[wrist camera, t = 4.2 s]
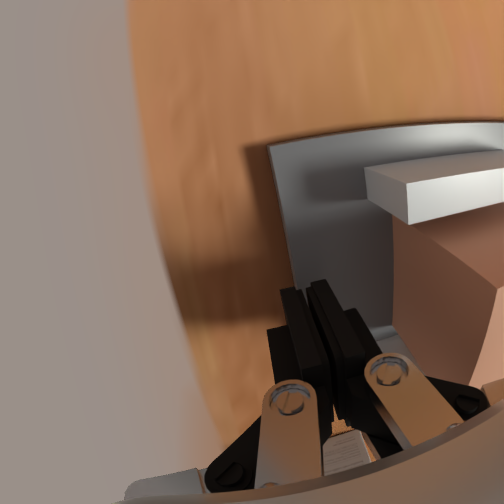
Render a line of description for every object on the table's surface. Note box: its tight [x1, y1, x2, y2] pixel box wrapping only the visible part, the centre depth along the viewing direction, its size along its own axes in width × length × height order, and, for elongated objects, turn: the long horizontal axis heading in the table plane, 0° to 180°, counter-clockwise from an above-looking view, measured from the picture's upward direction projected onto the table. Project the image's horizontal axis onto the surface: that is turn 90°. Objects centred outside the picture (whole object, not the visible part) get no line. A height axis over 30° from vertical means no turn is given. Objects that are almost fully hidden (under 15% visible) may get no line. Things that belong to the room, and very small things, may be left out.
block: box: [392, 202, 504, 389], centre depth 9 cm, size 6×6×6 cm
